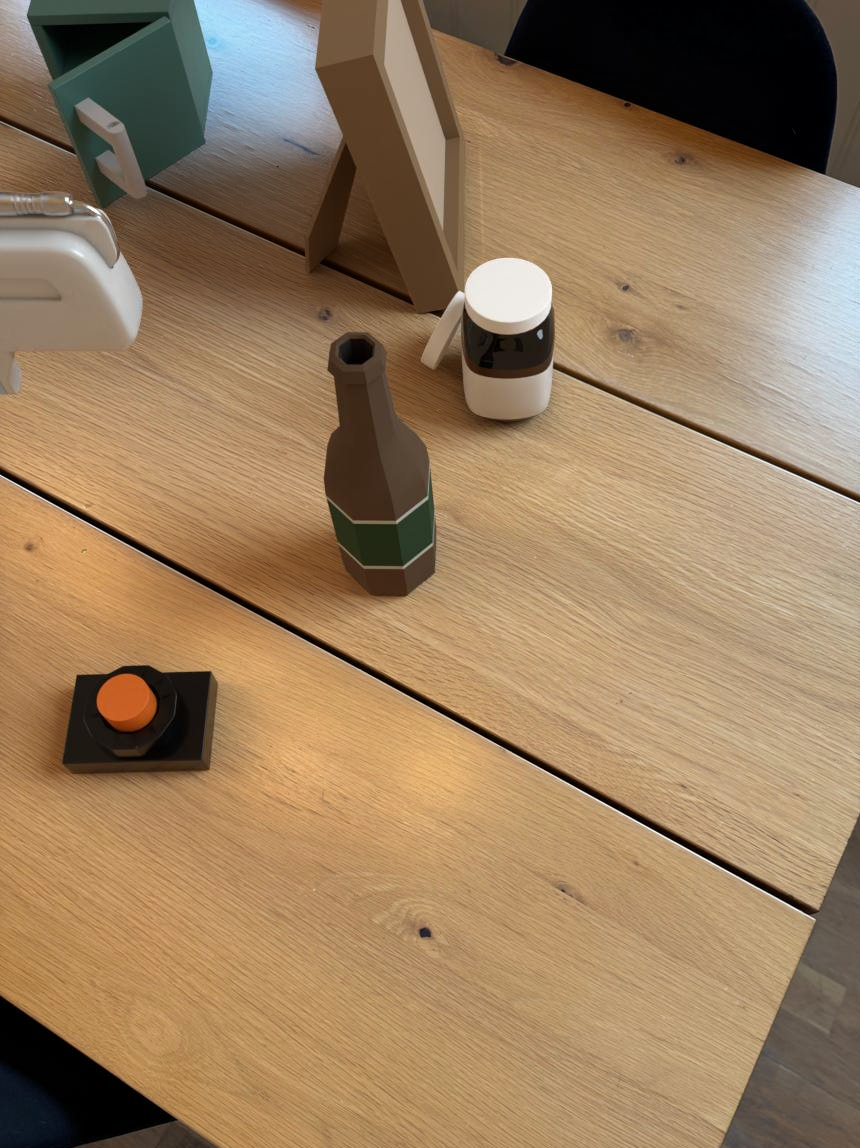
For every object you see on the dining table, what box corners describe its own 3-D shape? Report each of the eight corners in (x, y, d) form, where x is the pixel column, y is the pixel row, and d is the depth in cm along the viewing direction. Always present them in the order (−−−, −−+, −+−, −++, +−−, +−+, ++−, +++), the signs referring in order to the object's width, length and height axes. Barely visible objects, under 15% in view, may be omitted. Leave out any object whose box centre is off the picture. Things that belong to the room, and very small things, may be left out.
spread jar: (553, 434, 90) (560, 337, 79) (420, 436, 90) (410, 340, 79) (548, 327, 95) (554, 224, 85) (423, 329, 95) (413, 226, 85)
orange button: (103, 732, 74) (93, 721, 72) (110, 686, 76) (100, 674, 74) (154, 731, 74) (145, 720, 72) (160, 684, 76) (151, 672, 74)
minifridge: (204, 136, 107) (168, 11, 96) (77, 140, 107) (25, 15, 96) (213, 73, 112) (180, -54, 100) (91, 76, 112) (44, -50, 100)
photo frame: (465, 150, 106) (456, -123, 83) (463, 313, 96) (453, 53, 74) (318, 152, 106) (270, -120, 84) (301, 315, 96) (242, 56, 74)
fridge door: (242, 169, 105) (211, 47, 93) (138, 237, 101) (93, 119, 89) (199, 138, 107) (164, 15, 96) (96, 203, 103) (46, 84, 92)
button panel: (72, 774, 76) (51, 754, 73) (86, 686, 80) (67, 663, 76) (209, 770, 76) (195, 750, 73) (218, 682, 80) (205, 659, 76)
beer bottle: (421, 506, 86) (395, 286, 65) (454, 582, 83) (438, 377, 62) (331, 536, 85) (274, 322, 64) (361, 614, 82) (312, 416, 61)
